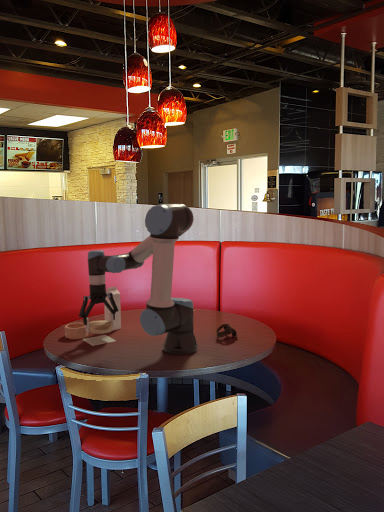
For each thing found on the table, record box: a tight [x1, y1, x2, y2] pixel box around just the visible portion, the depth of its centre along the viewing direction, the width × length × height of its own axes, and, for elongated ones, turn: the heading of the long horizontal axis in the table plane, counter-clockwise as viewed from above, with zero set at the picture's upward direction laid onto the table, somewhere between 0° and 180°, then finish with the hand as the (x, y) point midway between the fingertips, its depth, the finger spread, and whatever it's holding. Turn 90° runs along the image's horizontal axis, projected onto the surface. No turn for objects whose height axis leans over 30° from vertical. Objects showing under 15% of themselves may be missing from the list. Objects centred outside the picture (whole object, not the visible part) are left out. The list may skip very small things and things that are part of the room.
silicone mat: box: [81, 334, 117, 347], centre depth 222 cm, size 12×12×1 cm
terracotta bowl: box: [64, 322, 89, 340], centre depth 229 cm, size 10×10×6 cm
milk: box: [103, 285, 122, 332], centre depth 240 cm, size 6×6×22 cm
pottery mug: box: [215, 323, 239, 340], centre depth 226 cm, size 12×10×8 cm
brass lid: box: [88, 319, 112, 335], centre depth 221 cm, size 12×12×4 cm
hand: (99, 329), depth 221 cm, fingers closed on brass lid, 12 cm apart
